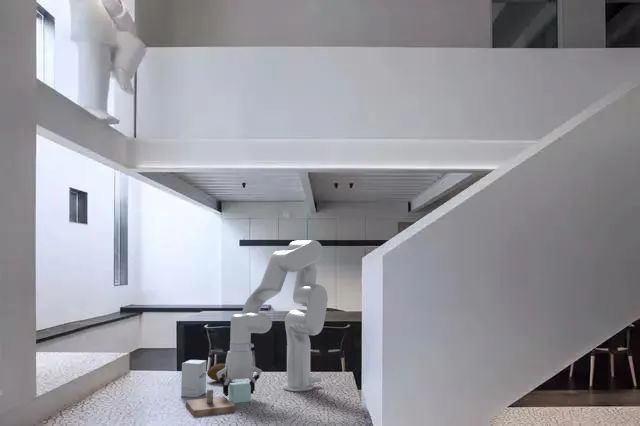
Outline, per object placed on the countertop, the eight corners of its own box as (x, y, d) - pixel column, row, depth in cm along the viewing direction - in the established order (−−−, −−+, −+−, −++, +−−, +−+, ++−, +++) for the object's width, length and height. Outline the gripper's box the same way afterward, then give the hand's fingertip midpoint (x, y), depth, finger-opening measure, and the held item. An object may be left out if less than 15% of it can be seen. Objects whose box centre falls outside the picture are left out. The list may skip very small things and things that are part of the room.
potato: (234, 384, 230) (234, 365, 230) (204, 384, 229) (205, 365, 230) (237, 380, 238) (237, 361, 238) (208, 380, 238) (208, 361, 238)
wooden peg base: (224, 401, 203) (224, 383, 203) (234, 411, 190) (234, 392, 190) (185, 406, 197) (186, 387, 197) (193, 416, 184) (194, 396, 185)
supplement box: (198, 397, 209) (199, 363, 209) (180, 396, 210) (181, 362, 211) (206, 392, 216) (207, 360, 217) (188, 391, 217) (189, 359, 218)
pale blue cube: (245, 397, 209) (245, 381, 210) (250, 401, 204) (250, 385, 204) (229, 398, 207) (229, 383, 207) (233, 403, 201) (234, 386, 201)
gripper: (259, 345, 213) (257, 390, 212) (214, 347, 206) (213, 394, 205) (265, 347, 207) (264, 394, 205) (220, 350, 199) (218, 398, 198)
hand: (238, 394), depth 205 cm, fingers open, 9 cm apart
